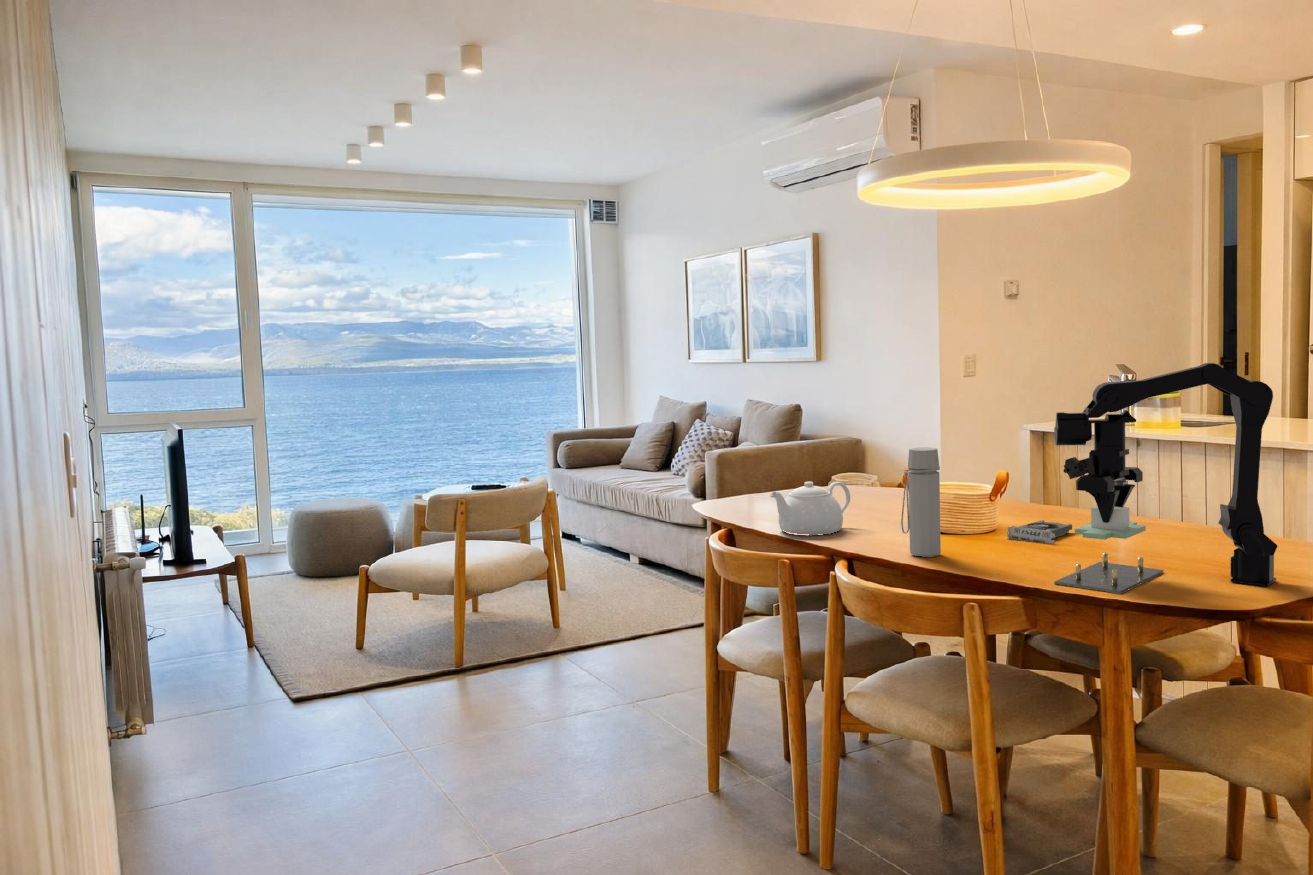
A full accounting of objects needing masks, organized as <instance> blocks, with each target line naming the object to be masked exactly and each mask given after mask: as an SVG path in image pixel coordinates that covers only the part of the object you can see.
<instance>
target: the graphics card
mask: <svg viewBox="0 0 1313 875" xmlns="http://www.w3.org/2000/svg"><path fill="white" fill-rule="evenodd" d="M1006 528H1007V531H1006V533H1007V535H1006V536H1007V540H1010V539H1012V540H1017V541H1023V542H1033V543H1038V544H1049V545H1055V542H1056V541H1055V540H1054V539H1055V538H1058V537H1061V536H1065V535H1066V534H1067V533H1069V531H1071V530H1073V524H1071V523H1068V524H1064V523H1061V522H1054V521H1052V522H1051V521H1045V520H1038V521H1034V522H1030V523H1026V524H1022V525H1019V526H1014V525H1011V526H1008V527H1006Z"/></svg>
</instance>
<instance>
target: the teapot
mask: <svg viewBox="0 0 1313 875" xmlns="http://www.w3.org/2000/svg"><path fill="white" fill-rule="evenodd" d="M803 484H804V485H803V486H800V487H797V488H795V489H793V490H792V491H790V492H789V493H788V495H787V496H786V498H784V496H783V495H782V493H781V492H780V491H777V490H775V491H772V492H771V493H770V498H773V499H775V502H776V507H777V513H778V524H779V528H780V530H781V531H782V530H784V531H786V532H790V533H797V534H809V535H818V534H829V535H831V534H830V533H833V534H835V533H834V532H836V533H838V532H839V531H840V530H841V529H842V527H843V522H844V515H843V513H844V512H845V510H846V509H847V508H848V506H849V504H850V502H851V492H850V489H849V488H848V487H847V485H846V484H845V483H843V482H842V481H833V482H832V483H830V484H829V486H828V489H826V488H824V487H822V486H819V485H814V482H813V481H805V482H804V483H803ZM836 486H840V487H841V488H842V490H843V492H844V493H845V501H844V504H843V505H842V506H841V505H840V503H839V502H838V500H837V499H836V497H835V496H834V495H833V490H834V488H835V487H836ZM837 531H838V532H837Z"/></svg>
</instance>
